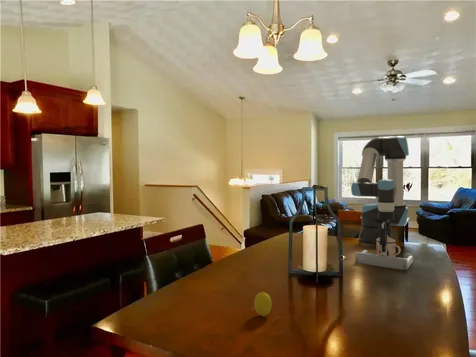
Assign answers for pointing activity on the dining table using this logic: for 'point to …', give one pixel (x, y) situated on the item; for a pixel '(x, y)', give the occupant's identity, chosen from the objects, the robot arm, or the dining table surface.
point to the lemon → (262, 303)
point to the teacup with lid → (388, 247)
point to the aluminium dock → (383, 260)
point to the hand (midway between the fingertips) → (385, 256)
